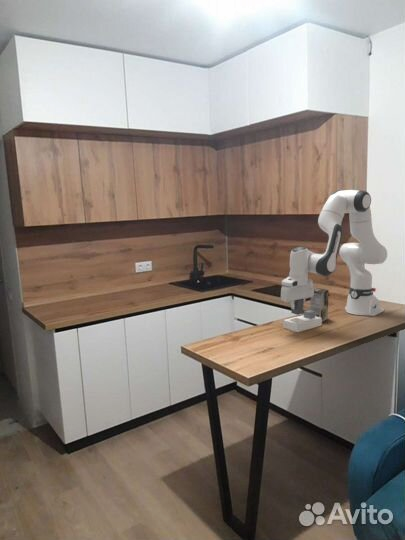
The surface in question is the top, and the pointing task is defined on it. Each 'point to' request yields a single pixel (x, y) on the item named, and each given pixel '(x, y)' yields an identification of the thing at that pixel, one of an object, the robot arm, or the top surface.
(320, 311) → the coffee box
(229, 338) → the top surface
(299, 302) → the black plug
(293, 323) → the white slotted base
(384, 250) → the robot arm
